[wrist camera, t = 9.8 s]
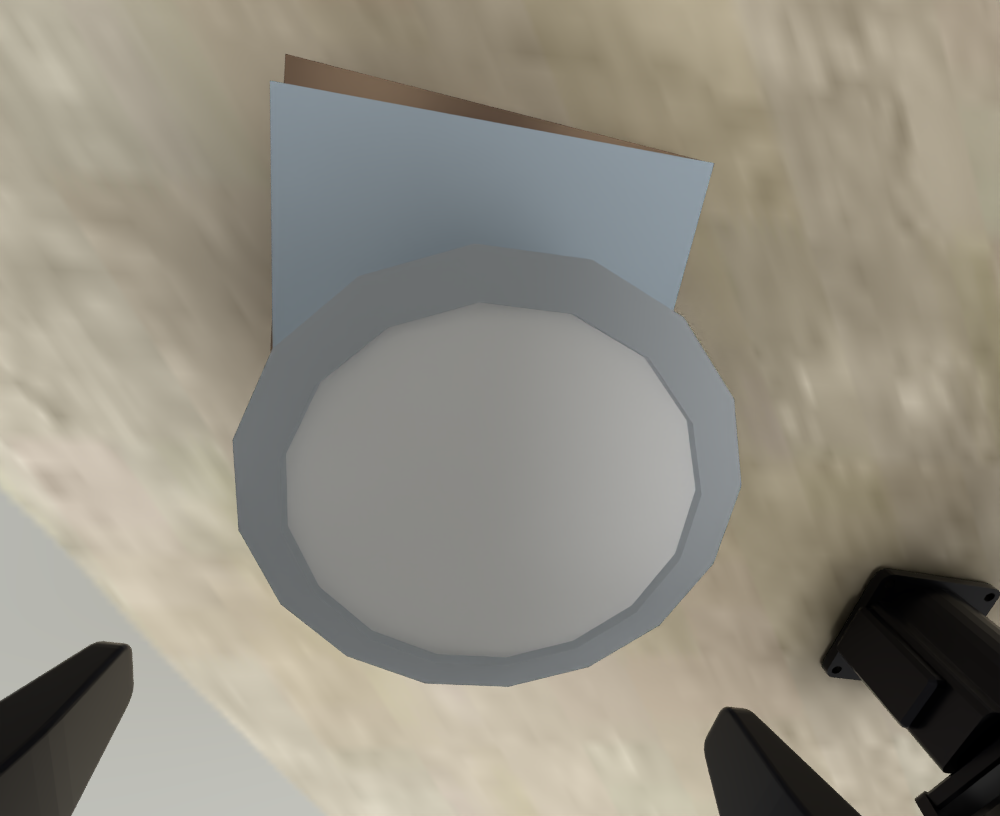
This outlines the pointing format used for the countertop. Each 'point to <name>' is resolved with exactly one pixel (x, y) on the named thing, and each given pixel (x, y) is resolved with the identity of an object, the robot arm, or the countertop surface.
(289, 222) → the tower top
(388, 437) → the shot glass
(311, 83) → the tower base
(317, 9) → the countertop surface
